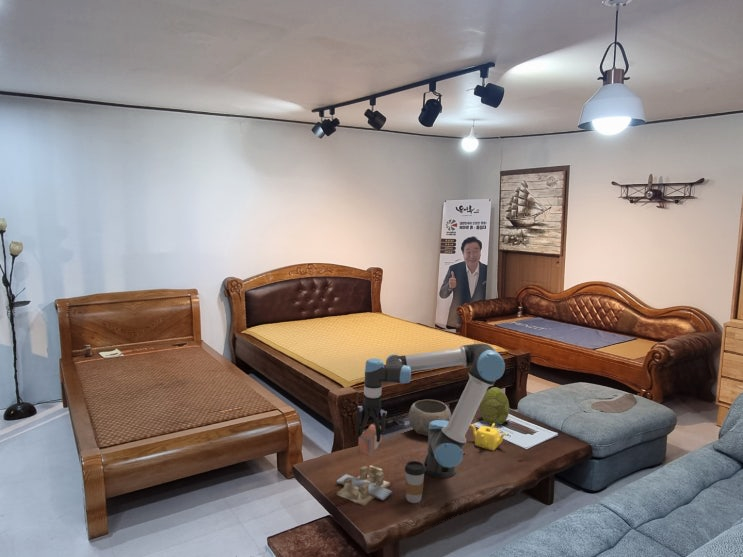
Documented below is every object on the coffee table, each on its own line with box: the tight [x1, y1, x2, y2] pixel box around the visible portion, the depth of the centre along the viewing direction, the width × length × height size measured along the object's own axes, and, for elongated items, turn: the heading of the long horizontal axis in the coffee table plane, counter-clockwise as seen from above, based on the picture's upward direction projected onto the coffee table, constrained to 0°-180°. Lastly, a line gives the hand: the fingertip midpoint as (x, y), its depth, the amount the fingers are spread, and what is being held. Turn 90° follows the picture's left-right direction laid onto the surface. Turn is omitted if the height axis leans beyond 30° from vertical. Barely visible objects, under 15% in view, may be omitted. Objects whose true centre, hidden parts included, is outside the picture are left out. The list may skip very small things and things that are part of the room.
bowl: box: [407, 399, 452, 437], centre depth 281 cm, size 23×23×15 cm
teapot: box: [470, 423, 507, 451], centre depth 267 cm, size 15×14×10 cm
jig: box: [336, 464, 393, 506], centre depth 221 cm, size 24×20×6 cm
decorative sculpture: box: [479, 386, 510, 425], centre depth 297 cm, size 16×16×20 cm
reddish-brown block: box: [357, 423, 383, 457], centre depth 223 cm, size 5×15×7 cm, turn 159°
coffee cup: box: [404, 460, 426, 504], centre depth 215 cm, size 8×8×15 cm
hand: (369, 446), depth 224 cm, fingers closed on reddish-brown block, 5 cm apart
